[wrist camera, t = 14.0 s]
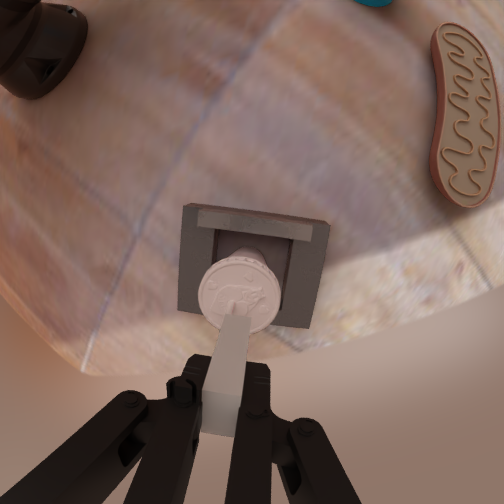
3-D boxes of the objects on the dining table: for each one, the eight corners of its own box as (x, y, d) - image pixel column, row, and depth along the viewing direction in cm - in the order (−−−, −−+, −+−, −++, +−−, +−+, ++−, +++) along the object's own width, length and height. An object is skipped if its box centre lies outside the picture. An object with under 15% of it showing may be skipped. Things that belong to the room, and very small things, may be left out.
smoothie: (208, 246, 31) (164, 299, 17) (264, 224, 30) (261, 264, 16) (231, 298, 32) (208, 377, 18) (286, 279, 31) (297, 353, 17)
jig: (184, 299, 32) (171, 318, 27) (191, 203, 29) (176, 208, 25) (305, 315, 32) (311, 338, 27) (324, 220, 29) (335, 229, 24)
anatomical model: (415, 25, 22) (432, 9, 17) (473, 55, 22) (493, 45, 17) (409, 193, 28) (432, 197, 23) (469, 211, 28) (494, 217, 23)
